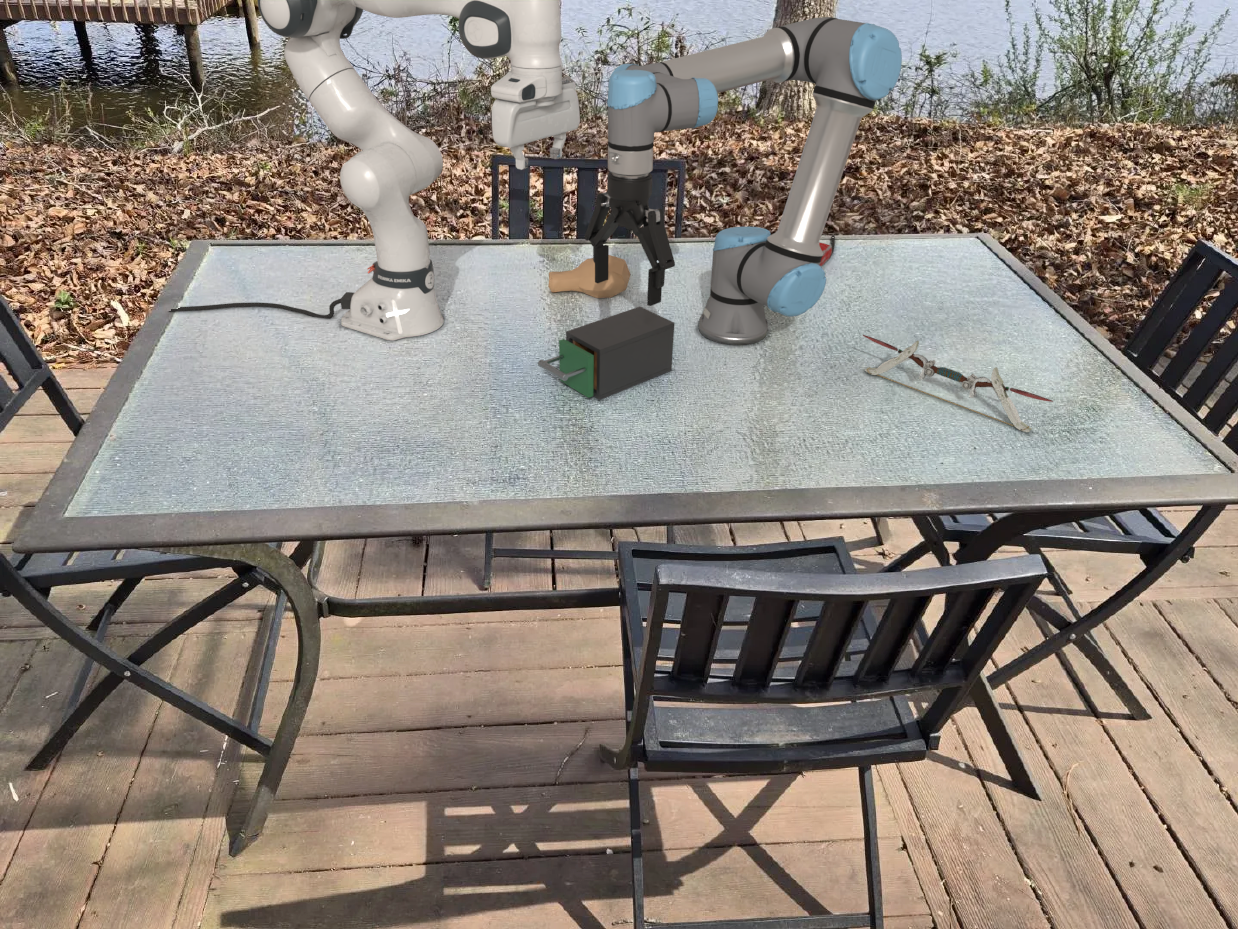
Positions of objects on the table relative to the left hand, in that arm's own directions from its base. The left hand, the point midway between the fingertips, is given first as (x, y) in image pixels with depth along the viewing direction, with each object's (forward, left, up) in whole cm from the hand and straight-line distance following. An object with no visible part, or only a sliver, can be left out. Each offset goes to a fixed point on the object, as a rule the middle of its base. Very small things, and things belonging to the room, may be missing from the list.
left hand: (539, 163), depth 162 cm
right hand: (+21, -10, -18) cm, 30 cm away
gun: (+38, +68, -40) cm, 87 cm away
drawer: (+14, -7, -39) cm, 42 cm away
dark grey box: (+17, -2, -40) cm, 43 cm away
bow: (+80, +11, -40) cm, 90 cm away
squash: (-3, +36, -40) cm, 53 cm away
